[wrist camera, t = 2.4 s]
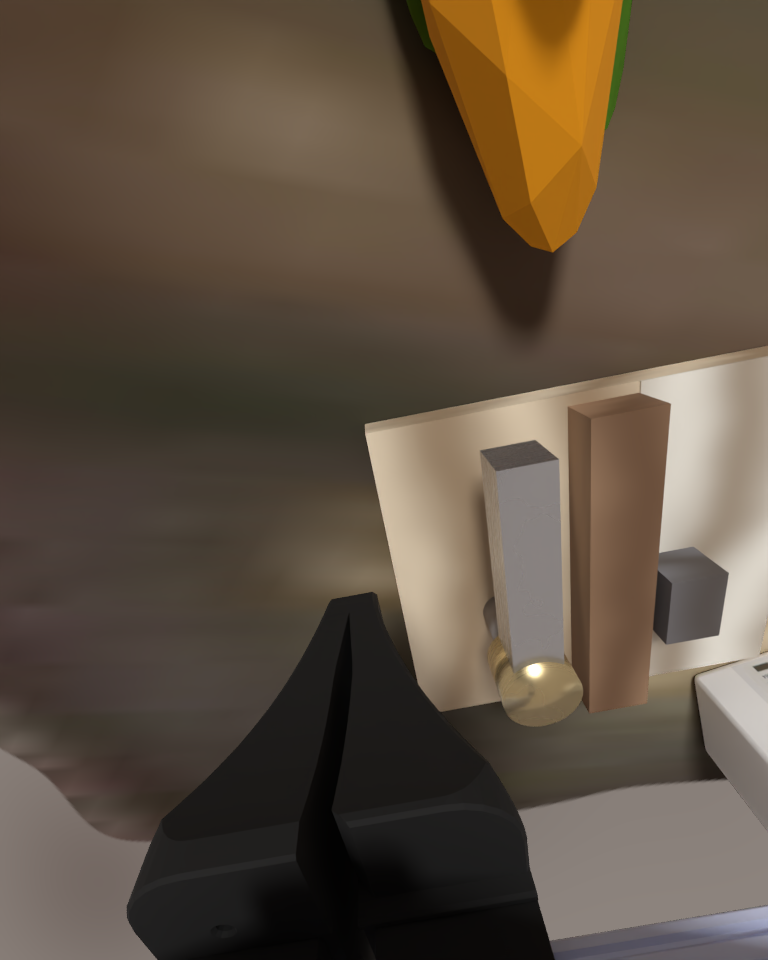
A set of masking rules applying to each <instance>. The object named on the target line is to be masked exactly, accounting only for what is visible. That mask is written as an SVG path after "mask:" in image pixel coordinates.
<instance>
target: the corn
mask: <svg viewBox="0 0 768 960" xmlns="http://www.w3.org/2000/svg"><path fill="white" fill-rule="evenodd" d="M406 1H407V5H408V8H409V11H410V14H411V17H412V19H413V21H414V24H415V26H416V28H417V30H418V33H419V35H420V37H421V39H422V42H423V44H424V46H425V47H426V48H428V49H430V50H431V51H433V52H435V53H436V54H437V57H438V59H439V62H440V64H441V67H442V69H443V72H444V74H445V77H446V79H447V82H448V84H449V86H450V89H451V91H452V94H453V96H454V99H455V101H456V104H457V106H458V109H459V111H460V114H461V116H462V119H463V121H464V124H465V126H466V129H467V131H468V134H469V136H470V139H471V141H472V144H473V146H474V149H475V151H476V154H477V156H478V159H479V161H480V164H481V166H482V169H483V171H484V174H485V176H486V178H487V181H488V183H489V186H490V188H491V191H492V193H493V196H494V198H495V201H496V203H497V206H498V208H499V211H500V213H501V216H502V218H503V220H504V221H505V222H506V223H507V224H508V225H510V226H511V227H512V228H513V229H514V230H515V231H516V232H517V233H518V234H519V235H520V236H521V237H522V238H523V239H524V240H525V241H526V242H527V243H528V244H529V245H530V246H531V247H535V248H538V249H542V250H546V251H549V252H554V251H555V250H556V249H558V248H559V247H560V246H561V245H562V244H563V243H565V242H566V241H567V240H568V239H569V238H570V237H572V236H573V235H574V234H575V233H576V232H577V230H578V228H579V226H580V223H581V221H582V219H583V217H584V214H585V212H586V210H587V207H588V205H589V203H590V201H591V198H592V196H593V194H594V192H595V189H596V186H597V179H598V172H599V165H600V158H601V151H602V144H603V137H604V131H605V130H606V129H607V127H608V125H609V122H610V119H611V117H612V114H613V112H614V109H615V105H616V100H617V96H618V91H619V86H620V81H621V77H622V72H623V67H624V59H625V51H626V44H627V36H628V28H629V21H630V13H631V5H632V0H406Z"/></svg>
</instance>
